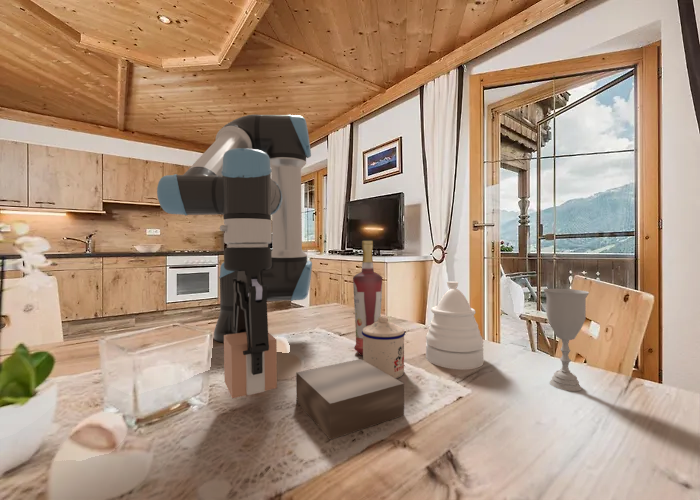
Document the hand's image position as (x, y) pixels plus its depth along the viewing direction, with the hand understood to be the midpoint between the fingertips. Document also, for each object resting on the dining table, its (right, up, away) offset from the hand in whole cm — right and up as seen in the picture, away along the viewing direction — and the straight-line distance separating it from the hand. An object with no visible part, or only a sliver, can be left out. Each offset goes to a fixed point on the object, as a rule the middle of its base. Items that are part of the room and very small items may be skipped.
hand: (249, 382), depth 55 cm
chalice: (+58, -4, +8) cm, 58 cm away
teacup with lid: (+24, -4, +16) cm, 29 cm away
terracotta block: (0, 0, 0) cm, 0 cm away
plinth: (+16, -4, -1) cm, 17 cm away
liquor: (+21, -4, +27) cm, 35 cm away
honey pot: (+41, -4, +22) cm, 47 cm away
